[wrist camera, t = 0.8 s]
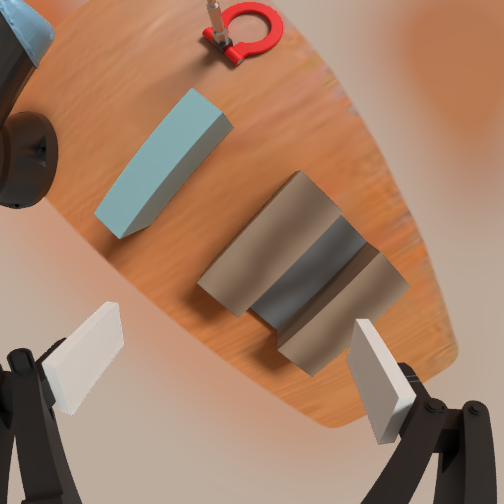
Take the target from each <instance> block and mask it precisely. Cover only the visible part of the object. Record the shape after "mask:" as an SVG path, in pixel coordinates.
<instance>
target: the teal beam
mask: <svg viewBox="0 0 504 504" xmlns="http://www.w3.org/2000/svg"><path fill="white" fill-rule="evenodd" d="M233 128H234V127H233V126H232V124H231V123H230V122H229V120H228V119H227V117H226V116H225V115H224V113H223V112H222V111H220V110H219V109H218V108H217V107H215V106H214V105H213V104H212V103H211V102H209V101H208V100H207V99H206V98H204V97H203V96H202V95H200V94H199V93H198V92H197V91H195V90H194V89H193V88H191V89H190V90H189V91H188V92H187V93H186V95H185V96H184V97H183V98H182V99H181V100H180V101H179V102H178V103H177V105H176V106H175V107H174V108H173V109H172V110H171V111H170V113H169V114H168V115H167V116H166V117H165V118H164V120H163V121H162V122H161V123H160V124H159V125H158V127H157V128H156V129H155V130H154V132H153V133H152V134H151V135H150V136H149V138H148V139H147V140H146V141H145V143H144V144H143V145H142V147H141V148H140V149H139V150H138V152H137V153H136V154H135V156H134V157H133V158H132V160H131V161H130V162H129V164H128V165H127V166H126V168H125V169H124V170H123V172H122V173H121V175H120V176H119V177H118V179H117V180H116V182H115V183H114V184H113V186H112V187H111V189H110V190H109V192H108V193H107V195H106V196H105V198H104V199H103V201H102V202H101V204H100V205H99V207H98V208H97V210H96V211H95V213H94V215H95V216H96V217H97V218H98V219H99V220H100V221H101V222H102V223H103V224H104V225H105V226H106V227H107V228H108V229H109V230H110V231H111V232H112V233H113V234H114V235H115V236H117V237H118V238H119V239H121V238H123V237H126V236H128V235H130V234H132V233H134V232H137V231H139V230H141V229H143V228H146V227H148V226H150V225H151V224H152V223H153V222H154V220H155V219H156V218H157V216H158V215H159V214H160V213H161V211H162V210H163V209H164V208H165V206H166V205H167V204H168V203H169V201H170V200H171V199H172V198H173V196H174V195H175V194H176V193H177V192H178V190H179V189H180V188H181V187H182V186H183V184H184V183H185V182H186V181H187V180H188V178H189V177H190V176H191V175H192V174H193V173H194V171H195V170H196V169H197V168H198V167H199V166H200V164H201V163H202V162H203V161H204V160H205V159H206V158H207V156H208V155H209V154H210V153H211V152H212V151H213V150H214V149H215V147H216V146H217V145H218V144H219V143H220V142H221V141H222V140H223V139H224V138H225V136H226V135H227V134H228V133H229V132H230V131H231V130H232V129H233Z"/></svg>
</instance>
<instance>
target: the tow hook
mask: <svg viewBox="0 0 504 504" xmlns="http://www.w3.org/2000/svg"><path fill="white" fill-rule="evenodd" d="M207 2H208V3H207V5H206V6H207V9H208V13H209V16H210V19H211V23H212V26H213V27H211V28H210V27H208V28H206V29H205V30H204V31H203V33H202V34H203V35H204V36H205V37H206V38H207V39H208V40H209V41H210V42H212V43H213V45H214V46H215V47H216V48H217V49H218V50H219V51H221V52H222V53H223V54H225V55H226V56H227V57H228V58H229V59H230V60H231V61H232V62H234V63H235V64H236V65H239V64H240V63H242V62H243V61H244V59H245V57H246V56H248V55H255V54H260V53H263V52H266V51H268V50H270V49H271V48H273V47H274V46H275V45H276V44H277V43H278V42H279V40H280V39H281V36H282V34H283V22H282V19H281V17H280V16H279V14H278V13H277V12H276V11H275V10H273V9H272V8H271V7H269V6H266V5H264V4H261V3H256V2H244V3H239V4H236V5H233V6H231V7H229V8H228V9H226V10H225V11H224V12H223V13H222V14H221V11H220V7H219V3H218V2H217V1H216V0H207ZM247 12H248V13H258V14H260V15H262V16H264V17H265V18H267V20H268V21H269V22H270V25H271V31H270V33H269V34H268V36H267V37H266V38H264V39H263V40H261V41H258V42H254V43H244V42H239V43H238V44H236V45H235V46H234V47H233V43H232V40H231V39H230V38H229V37H228V25H229V23H230V21H231V20H232V19H233V18H234V17H236V16H237V15H240V14H242V13H247Z"/></svg>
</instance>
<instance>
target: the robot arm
mask: <svg viewBox="0 0 504 504" xmlns="http://www.w3.org/2000/svg"><path fill="white" fill-rule="evenodd" d="M54 36H55V33H54V29H53V27H52V25H51V24H50V23H49V22H47V21H46V20H45V19H44V18H43V17H42V16H41V15H40V14H38V13H37V12H36V11H35V10H34V9H32V8H31V7H30V6H29V5H27V4H26V3H25V2H24V1H22V0H0V205H2V206H5V207H9V208H13V209H21V208H26V207H30V206H33V205H35V204H36V203H38V202H39V201H40V200H41V199H42V198H43V197H44V196H45V194H46V193H47V191H48V190H49V188H50V186H51V184H52V181H53V178H54V175H55V172H56V167H57V160H58V144H57V137H56V134H55V131H54V128H53V126H52V124H51V123H50V121H49V120H48V119H47V118H46V117H45V116H43V115H41V114H39V113H33V112H20V113H18V114H15V115H11V116H8V115H9V113H10V112H11V110H12V108H13V106H14V104H15V102H16V101H17V99H18V97H19V95H20V94H21V92H22V90H23V89H24V87H25V85H26V84H27V82H28V80H29V79H30V77H31V76H32V74H33V73H34V71H35V70H36V69H38V67H39V63H40V61H41V59H42V58H43V56H44V55H45V53H46V52H47V50H48V49H49V47H50V46H51V44H52V42H53V40H54ZM123 345H124V341H123V334H122V327H121V320H120V313H119V305H118V303H115V302H106V303H105V304H104V305H102V306H101V307H100V308H99V309H98V310H97V311H96V312H95V313H94V314H93V315H92V316H90V317H89V318H88V319H87V320H86V321H85V322H84V323H83V324H82V325H81V326H80V327H78V328H77V329H76V330H75V331H74V332H73V333H72V334H71V335H70V336H69V337H68V338H63V339H61V340H59V341H57V342H56V343H55V344H54V345H52V346H51V348H49V349H48V350H47V352H45V353H44V354H43V355H42V356H41V357H40V358H39V359H38V360H37V361H36V362H35V361H34V358H33V355H32V352H31V351H30V350H29V349H26V348H19V349H15V350H13V351H11V352H10V353H9V354H8V356H7V361H8V363H9V365H10V368H11V371H12V372H10V371H3V369H2V366H1V364H0V504H7V494H8V481H9V471H10V463H11V455H12V448H13V442H14V436H15V438H16V446H17V454H18V460H19V467H20V472H21V478H22V483H23V488H24V492H25V497H26V499H25V500H22V502H21V504H82V502H81V499H80V497H79V494H78V491H77V489H76V486H75V483H74V480H73V478H72V475H71V472H70V469H69V466H68V463H67V459H66V456H65V453H64V450H63V446H62V442H61V438H60V435H59V431H58V427H57V423H56V419H55V414H54V411H53V409H52V406H53V405H54V403H55V402H56V403H57V406H58V408H59V411H61V412H63V413H66V414H69V415H73V414H74V413H75V412H76V410H77V409H78V407H79V406H80V404H81V403H82V401H83V400H84V399H85V397H86V396H87V394H88V393H89V392H90V390H91V389H92V388H93V386H94V385H95V383H96V382H97V381H98V379H99V378H100V376H101V375H102V374H103V372H104V371H105V369H106V368H107V367H108V365H109V364H110V363H111V361H112V360H113V359H114V357H115V356H116V355H117V353H118V352H119V351H120V349H121V348H122V347H123ZM347 363H348V365H349V368H350V371H351V373H352V376H353V378H354V381H355V383H356V386H357V389H358V391H359V394H360V397H361V399H362V402H363V405H364V407H365V410H366V413H367V415H368V418H369V421H370V424H371V426H372V429H373V432H374V435H375V438H376V440H377V443H378V445H379V444H387V443H393V442H395V440H396V438H397V436H398V434H400V437H401V441H400V443H399V445H398V446H397V448H396V450H395V452H394V453H393V455H392V457H391V458H390V460H389V462H388V463H387V465H386V467H385V468H384V470H383V471H382V473H381V475H380V476H379V478H378V479H377V481H376V482H375V484H374V485H373V487H372V488H371V490H370V491H369V492H368V494H367V495H366V497H365V498H364V500H363V501H362V502H361V504H408V503H409V502H410V500H411V498H412V496H413V494H414V492H415V490H416V488H417V486H418V484H419V482H420V480H421V478H422V475H423V473H424V471H425V469H426V467H427V465H428V462H429V460H430V457H431V455H432V453H439V459H438V470H437V480H436V487H435V495H434V502H433V504H497V486H496V467H495V456H494V445H493V437H492V430H491V423H490V417H489V411H488V409H487V407H486V406H485V405H484V404H483V403H481V402H479V401H468V402H466V403H465V404H464V406H463V407H462V409H448V408H447V406H446V405H445V403H443V402H442V401H441V400H439V399H436V398H431V397H430V395H429V394H428V392H427V391H426V389H425V388H424V386H423V384H422V383H421V381H420V380H419V378H418V377H417V376H416V374H415V372H414V371H413V369H412V368H411V367H410V366H408V365H407V364H406V363H396V361H395V360H394V358H393V356H392V355H391V353H390V352H389V350H388V348H387V347H386V345H385V344H384V342H383V340H382V339H381V337H380V336H379V334H378V333H377V331H376V330H375V328H374V326H373V325H372V323H371V322H370V320H369V319H356V320H355V325H354V330H353V335H352V339H351V344H350V348H349V353H348V357H347Z"/></svg>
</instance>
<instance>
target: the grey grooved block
mask: <svg viewBox="0 0 504 504" xmlns="http://www.w3.org/2000/svg"><path fill="white" fill-rule="evenodd" d="M342 213H343V211H342V210H341V209H340V208H339V207H338V206H337V205H336V204H335V203H334V202H333V201H332V200H331V199H330V198H329V197H328V196H327V195H326V194H325V193H324V192H323V191H322V190H321V189H320V188H319V187H318V186H317V185H316V184H315V183H314V182H313V181H312V180H311V179H310V178H309V177H307V176H306V175H305V174H304V173H303V172H302V171H296V172H295V173H294V174H293V175H292V176H291V177H290V178H289V179H288V180H287V182H286V183H285V184H284V185H283V186H282V187H281V188H280V189H279V190H278V191H277V192H276V193H275V194H274V195H273V196H272V197H271V198H270V200H269V201H268V202H267V203H266V204H265V205H264V206H263V207H262V208H261V209H260V210H259V211H258V212H257V213H256V215H255V216H254V217H253V218H252V219H251V220H250V221H249V222H248V223H247V224H246V225H245V226H244V227H243V229H242V230H241V231H240V232H239V233H238V234H237V235H236V236H235V237H234V238H233V239H232V241H231V242H230V243H229V244H228V245H227V246H226V247H225V248H224V249H223V250H222V251H221V253H220V254H219V255H218V256H217V257H216V258H215V259H214V260H213V261H212V262H211V264H210V265H209V266H208V267H207V268H206V270H205V271H204V273H203V274H202V276H201V277H200V279H199V280H198V282H197V284H199V285H200V286H201V287H202V288H203V289H204V290H205V291H207V292H208V293H209V294H210V295H211V296H212V297H214V298H215V299H216V300H217V301H218V302H219V303H221V304H222V305H223V306H224V307H225V308H226V309H228V310H229V311H230V312H231V313H232V314H234V315H235V316H236V317H237V318H239V317H240V316H241V315H242V314H243V313H244V312H245V311H246V310H247V309H248V308H249V307H250V308H251V309H252V310H253V311H255V312H256V313H257V314H258V315H259V316H260V317H262V318H263V319H264V320H265V321H266V322H268V323H269V324H270V325H271V326H272V327H274V328H275V329H276V330H277V350H278V351H279V352H280V353H281V354H283V355H284V356H285V357H287V358H288V359H289V360H290V361H292V362H293V363H294V364H296V365H297V366H298V367H299V368H301V369H302V370H303V371H305V372H306V373H307V374H309V375H310V376H311V377H313V376H314V375H315V374H316V373H318V372H319V371H320V370H321V369H323V368H324V367H325V366H326V365H327V364H329V363H330V362H331V361H332V360H333V359H335V358H336V357H337V356H338V355H339V354H341V353H342V352H343V351H344V350H345V349H346V348H347V347H349V346H350V344H351V339H352V335H353V330H354V325H355V320H356V319H369V320H370V322H371V323H372V325H373V324H374V323H375V322H376V321H377V320H378V319H379V318H380V317H381V316H382V315H383V314H384V313H385V312H386V311H387V310H388V309H389V308H390V307H392V306H393V305H394V304H395V303H396V302H397V301H398V299H399V298H400V297H401V296H402V295H403V294H404V293H405V292H406V291H407V290H408V289H409V288H410V287H411V286H410V285H409V284H408V283H407V281H406V280H405V279H404V278H403V277H402V276H401V274H400V273H399V272H398V271H397V270H396V269H395V267H394V266H393V265H392V264H391V263H390V262H389V261H388V259H387V258H386V257H385V256H384V255H383V254H382V253H381V252H380V251H379V250H378V249H376V248H375V247H373V246H372V245H371V244H369V243H368V242H367V241H366V240H365V239H364V238H363V237H362V236H361V235H360V234H359V233H358V232H357V231H356V230H355V229H354V228H353V227H352V226H351V225H350V223H349V222H348V221H347V220H346V219H345V218H344V217H343V216H342V215H341V214H342Z"/></svg>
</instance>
